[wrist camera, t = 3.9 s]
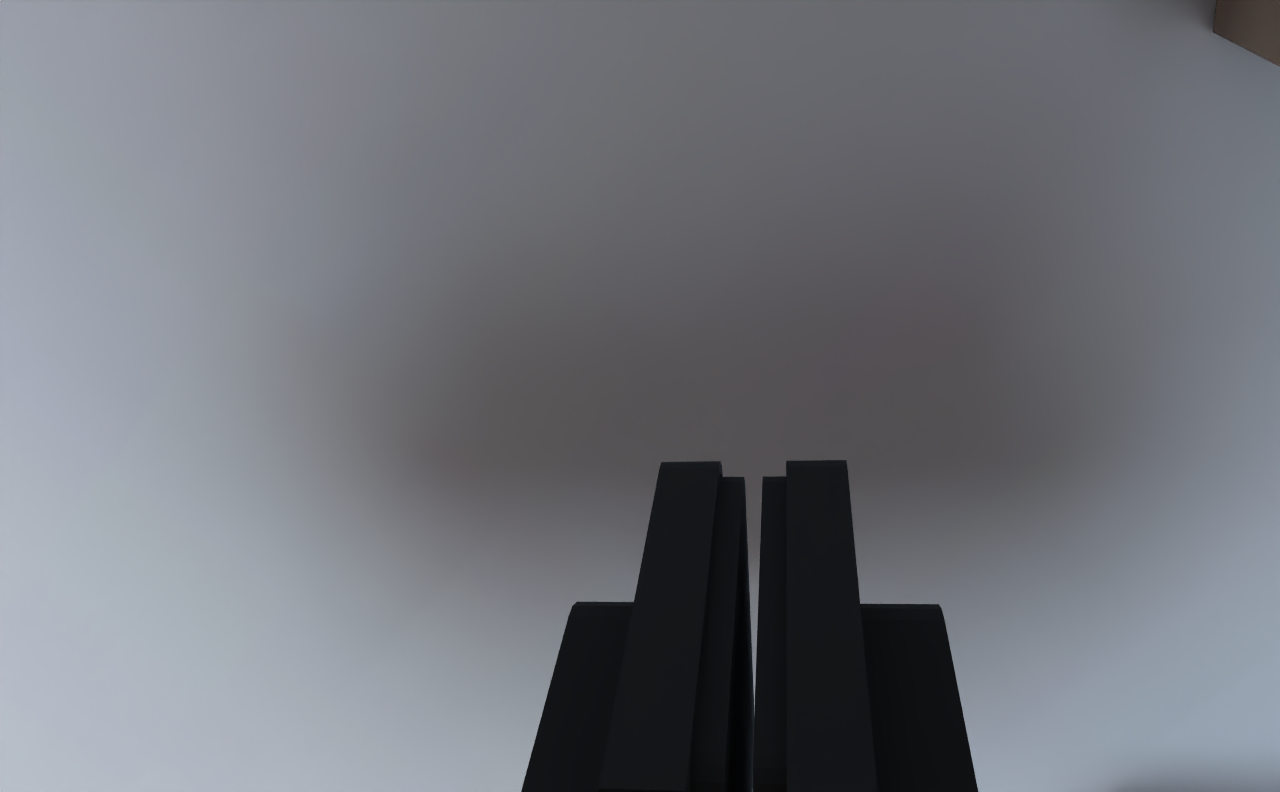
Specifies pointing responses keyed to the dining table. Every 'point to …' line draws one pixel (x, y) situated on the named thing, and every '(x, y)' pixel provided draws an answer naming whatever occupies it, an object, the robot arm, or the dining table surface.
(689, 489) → the robot arm
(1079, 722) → the dining table surface
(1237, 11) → the chute
